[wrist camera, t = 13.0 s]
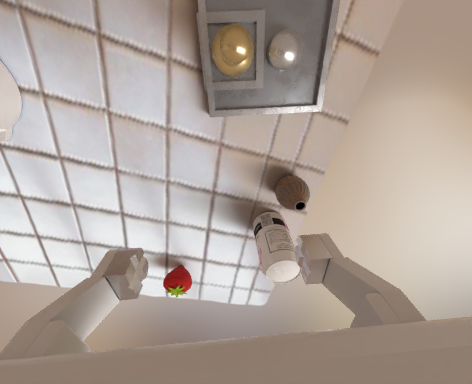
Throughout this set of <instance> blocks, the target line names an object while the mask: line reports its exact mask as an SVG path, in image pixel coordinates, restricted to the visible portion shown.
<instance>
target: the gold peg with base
mask: <svg viewBox="0 0 472 384" xmlns="http://www.w3.org/2000/svg"><path fill="white" fill-rule="evenodd" d="M253 52H254V49H253V43H252V40H251V36H250V34H249V32H248V30H247V29H246V28H245V27H244V26H242V25H240V24H231V25H227V26H225V27H223V28H222V29H220V30H219V31H218V33H217V34H216V36H215V38H214V41H213V45H212V55H213V59H214V62H215V64H216V66H217V68H218V69H219V70H220V71H221V72H222V73H223V74H225V75H228V76H237V75H240V74H242V73H244V72H245V71H246V70H247V69H248V67H249V66H250V64H251V62H252V59H253Z"/></svg>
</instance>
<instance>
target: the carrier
mask: <svg viewBox="0 0 472 384" xmlns="http://www.w3.org/2000/svg"><path fill="white" fill-rule="evenodd" d="M339 4H340V0H198V10H199V12H196V17H197V26H198V35H199V44H200V53H201V62H202V71H203V80H204V89H205V91H207V95H208V104H209V114H210V117H223V116H241V115H259V114H277V113H295V112H314V111H321V109H322V103H323V97H324V91H325V85H326V80H327V74H328V68H329V62H330V57H331V51H332V45H333V39H334V33H335V28H336V22H337V16H338V10H339ZM231 24H240V25H242V26H244V27H245V28H246V29H247V30H248V32H249V34H250V36H251V40H252V43H253V49H254V52H253V59H252V62H251V64H250V66H249V67H248V69H247V70H246V71H245V72H244V73H242V74H240V75H237V76H228V75H225V74H223V73H222V72H221V71H220V70H219V69H218V68H217V66H216V64H215V62H214V59H213V55H212V45H213V41H214V38H215V36H216V34H217V33H218V31H219V30H220V29H222V28H223V27H225V26H227V25H231Z"/></svg>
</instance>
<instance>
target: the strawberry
mask: <svg viewBox="0 0 472 384" xmlns="http://www.w3.org/2000/svg"><path fill="white" fill-rule="evenodd" d="M191 285H192V279H191V275H190V274H189V272H188V271H187V270H186V269H185V267H184V266H179V267H177V268H176V269H174V270H172V271H171V272H170V273H168V274H167V276H166V277H165V279H164V282H163V286H164V288H165V289H166V290H167V291H168V292H167V293H172V294H171V295H174V294H175V295H176V297H178V294H180V295H183V294H187V293H185V292H186V291H187V290H189V289H190V287H191ZM176 297H175V298H176Z"/></svg>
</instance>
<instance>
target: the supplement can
mask: <svg viewBox="0 0 472 384" xmlns="http://www.w3.org/2000/svg"><path fill="white" fill-rule="evenodd" d="M253 230H254V235H255V240H256V245H257V250H258V255H259V259H260V264H261V269H262V272H263V274H264V275H265V276H266V277H267V279H268V280H269V281H270V282H273V283H277V284H283V283H288V282H291V281H293V280H295V279H296V278H297V277H298V276H299V275H300V274H301V267H300V266H298V264H297V262H296V258H295V247H296V246H295V243H294V241H293V239H292V236H291V234H290V232H289V230H288V227H287V225H286V223H285V220H284V218H283V217H282V215H280V214H278V213H276V212H265V213H262V214H260V215H259V216H257V217H256V219H255V220H254V222H253Z"/></svg>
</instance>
